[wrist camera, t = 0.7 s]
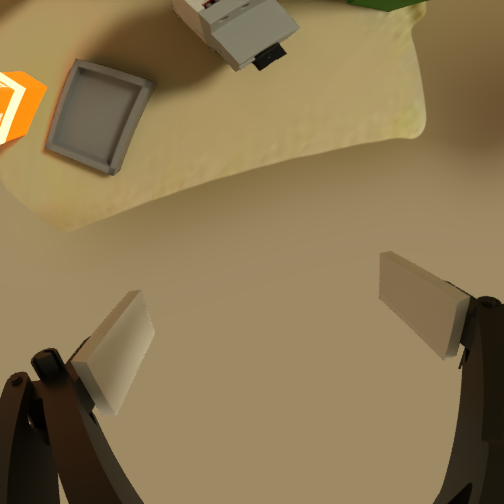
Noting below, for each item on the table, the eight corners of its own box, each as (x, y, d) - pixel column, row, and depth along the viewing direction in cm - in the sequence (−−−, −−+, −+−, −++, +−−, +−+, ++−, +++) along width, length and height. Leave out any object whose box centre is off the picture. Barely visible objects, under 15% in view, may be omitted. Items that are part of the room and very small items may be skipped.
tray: (83, 60, 26) (75, 58, 24) (156, 83, 30) (152, 82, 28) (53, 144, 32) (45, 148, 30) (119, 171, 36) (113, 175, 34)
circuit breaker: (242, 83, 32) (255, 73, 19) (177, 16, 25) (154, -25, 12) (285, 54, 30) (323, 32, 17) (221, -13, 23) (223, -64, 10)
